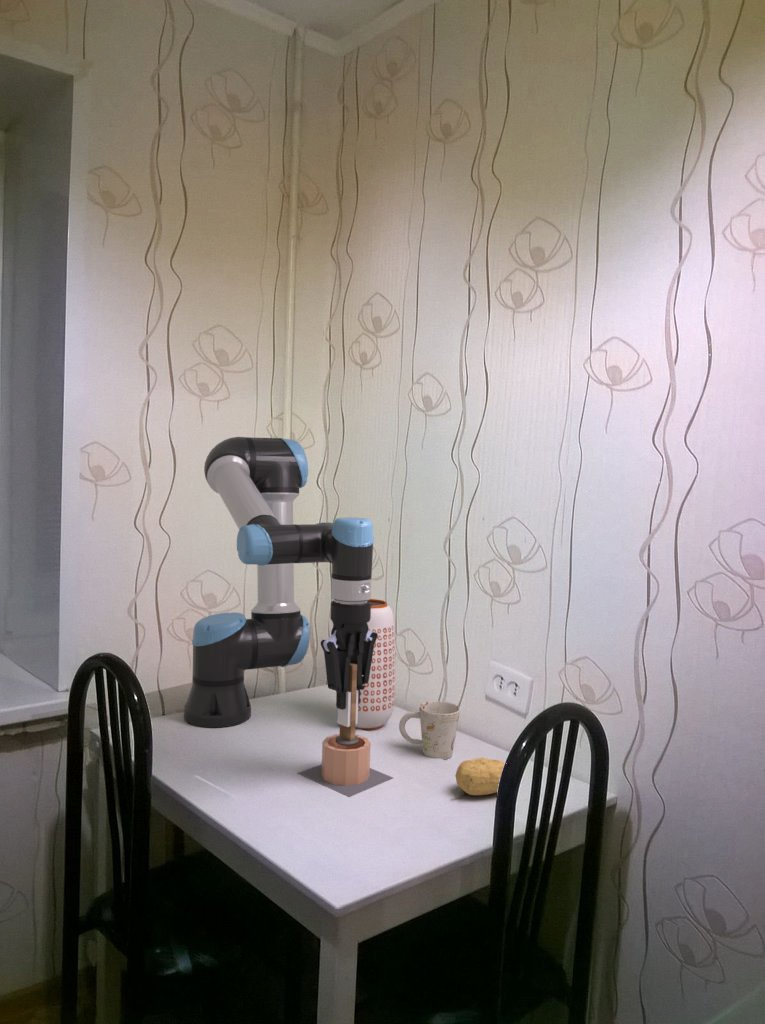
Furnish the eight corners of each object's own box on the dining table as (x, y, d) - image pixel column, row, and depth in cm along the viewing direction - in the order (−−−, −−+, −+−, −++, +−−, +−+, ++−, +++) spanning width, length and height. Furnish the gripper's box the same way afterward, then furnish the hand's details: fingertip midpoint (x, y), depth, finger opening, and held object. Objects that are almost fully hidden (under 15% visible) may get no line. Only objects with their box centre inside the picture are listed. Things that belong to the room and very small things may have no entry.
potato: (448, 788, 144) (449, 755, 144) (502, 782, 148) (504, 750, 147) (462, 803, 138) (463, 769, 138) (518, 798, 141) (520, 764, 141)
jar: (312, 774, 147) (313, 741, 147) (345, 762, 154) (346, 730, 153) (345, 789, 141) (346, 755, 141) (378, 776, 148) (379, 742, 147)
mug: (455, 764, 156) (457, 715, 155) (394, 757, 158) (395, 709, 157) (459, 749, 164) (461, 703, 163) (401, 743, 166) (403, 697, 165)
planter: (324, 721, 178) (327, 600, 175) (367, 710, 187) (371, 594, 184) (361, 738, 168) (366, 610, 166) (406, 725, 177) (410, 603, 175)
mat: (297, 775, 148) (297, 773, 148) (342, 758, 157) (342, 756, 157) (349, 799, 138) (349, 796, 138) (393, 779, 147) (393, 777, 147)
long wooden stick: (330, 741, 147) (332, 663, 146) (347, 735, 150) (349, 659, 149) (347, 747, 144) (349, 667, 143) (363, 741, 147) (365, 663, 146)
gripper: (337, 608, 137) (334, 738, 139) (391, 599, 148) (387, 720, 149) (309, 601, 142) (306, 727, 144) (363, 593, 153) (359, 710, 154)
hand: (347, 723), depth 146 cm, fingers closed on long wooden stick, 1 cm apart
